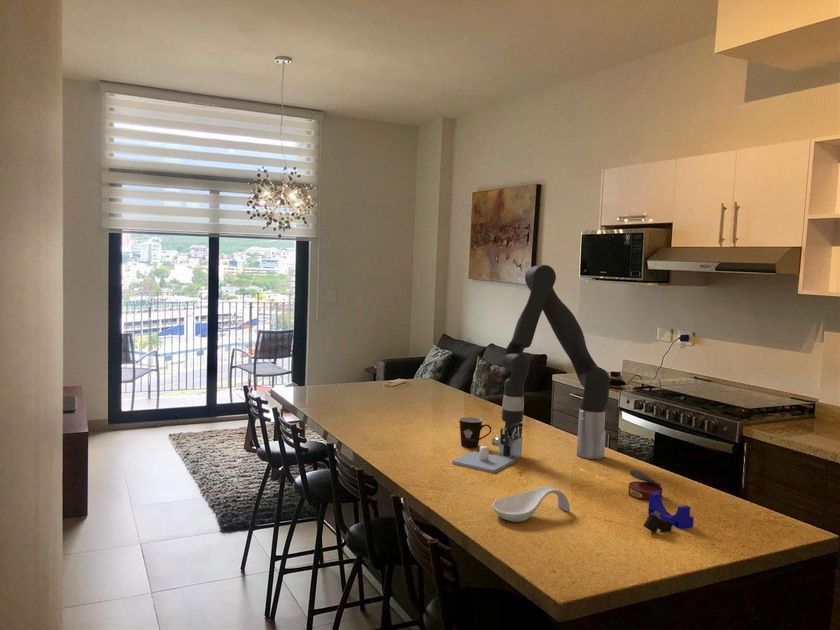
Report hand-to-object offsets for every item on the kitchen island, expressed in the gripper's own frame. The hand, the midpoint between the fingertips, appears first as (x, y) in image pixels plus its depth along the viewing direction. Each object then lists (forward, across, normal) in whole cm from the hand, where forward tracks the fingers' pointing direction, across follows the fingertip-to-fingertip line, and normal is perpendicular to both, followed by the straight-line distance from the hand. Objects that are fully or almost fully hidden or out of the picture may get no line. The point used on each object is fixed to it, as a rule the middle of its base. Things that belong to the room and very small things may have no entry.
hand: (510, 453), depth 240 cm
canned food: (+1, -10, -50) cm, 51 cm away
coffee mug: (+1, +3, +17) cm, 17 cm away
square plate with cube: (+1, -13, +4) cm, 14 cm away
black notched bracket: (+1, -37, -60) cm, 71 cm away
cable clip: (+1, -26, -61) cm, 66 cm away
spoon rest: (+2, -48, -29) cm, 56 cm away
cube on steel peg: (+1, 0, +2) cm, 2 cm away
